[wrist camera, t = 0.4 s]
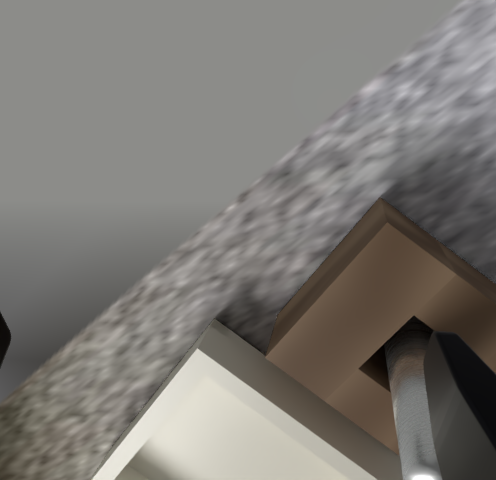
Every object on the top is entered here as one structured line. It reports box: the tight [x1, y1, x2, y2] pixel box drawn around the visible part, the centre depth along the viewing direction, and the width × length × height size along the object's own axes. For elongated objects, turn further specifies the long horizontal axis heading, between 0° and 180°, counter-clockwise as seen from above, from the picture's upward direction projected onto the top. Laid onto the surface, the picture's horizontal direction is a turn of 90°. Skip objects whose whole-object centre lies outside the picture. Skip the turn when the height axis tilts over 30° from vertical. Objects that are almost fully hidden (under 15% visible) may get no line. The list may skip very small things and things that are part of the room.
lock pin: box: [384, 316, 442, 480], centre depth 18 cm, size 2×2×10 cm
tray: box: [90, 318, 403, 480], centre depth 26 cm, size 13×13×3 cm
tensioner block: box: [265, 197, 496, 456], centre depth 20 cm, size 10×8×4 cm
